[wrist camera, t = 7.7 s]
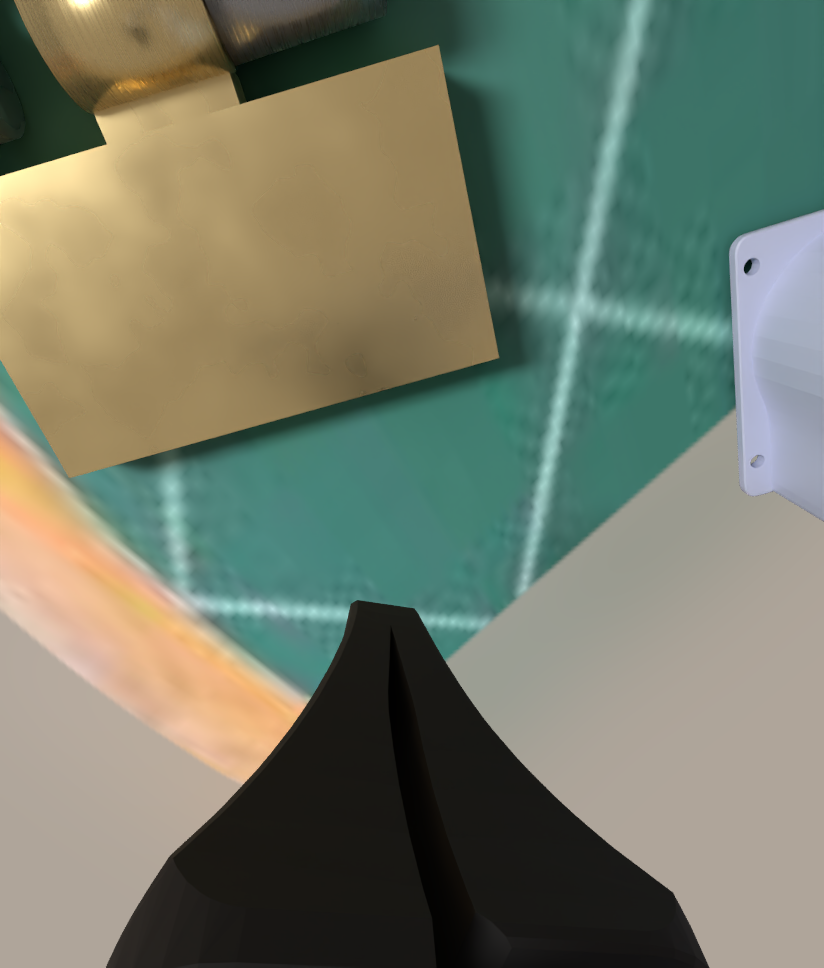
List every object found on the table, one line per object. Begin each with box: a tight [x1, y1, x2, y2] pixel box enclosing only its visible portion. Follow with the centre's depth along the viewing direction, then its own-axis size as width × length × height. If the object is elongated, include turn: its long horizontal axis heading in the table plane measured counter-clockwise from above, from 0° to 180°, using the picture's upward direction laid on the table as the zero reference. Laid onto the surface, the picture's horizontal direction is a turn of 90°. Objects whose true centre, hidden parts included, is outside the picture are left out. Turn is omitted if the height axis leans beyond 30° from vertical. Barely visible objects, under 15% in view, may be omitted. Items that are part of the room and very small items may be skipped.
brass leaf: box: [0, 0, 499, 478], centre depth 15 cm, size 12×14×3 cm
